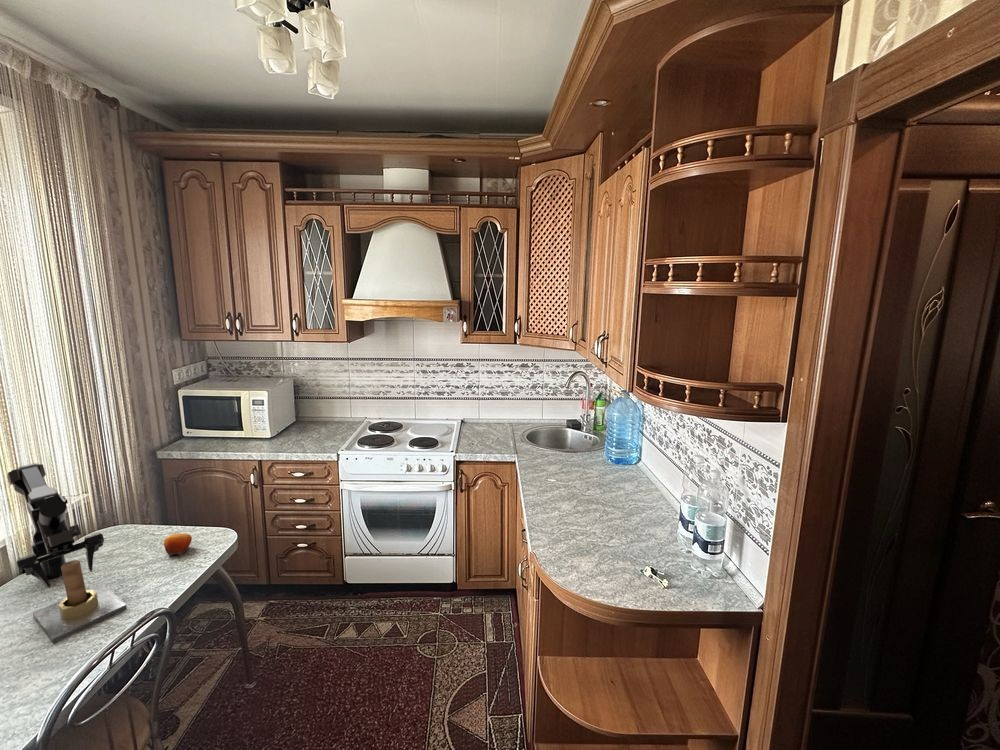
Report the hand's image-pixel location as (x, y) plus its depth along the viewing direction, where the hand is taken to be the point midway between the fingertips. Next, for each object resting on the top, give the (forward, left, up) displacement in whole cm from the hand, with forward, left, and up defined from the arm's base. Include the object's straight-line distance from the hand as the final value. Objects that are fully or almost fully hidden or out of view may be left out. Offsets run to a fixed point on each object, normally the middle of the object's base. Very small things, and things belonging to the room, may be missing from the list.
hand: (70, 579), depth 137 cm
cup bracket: (+5, 0, -9) cm, 10 cm away
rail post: (+5, 0, -7) cm, 9 cm away
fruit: (-6, +30, -9) cm, 32 cm away
